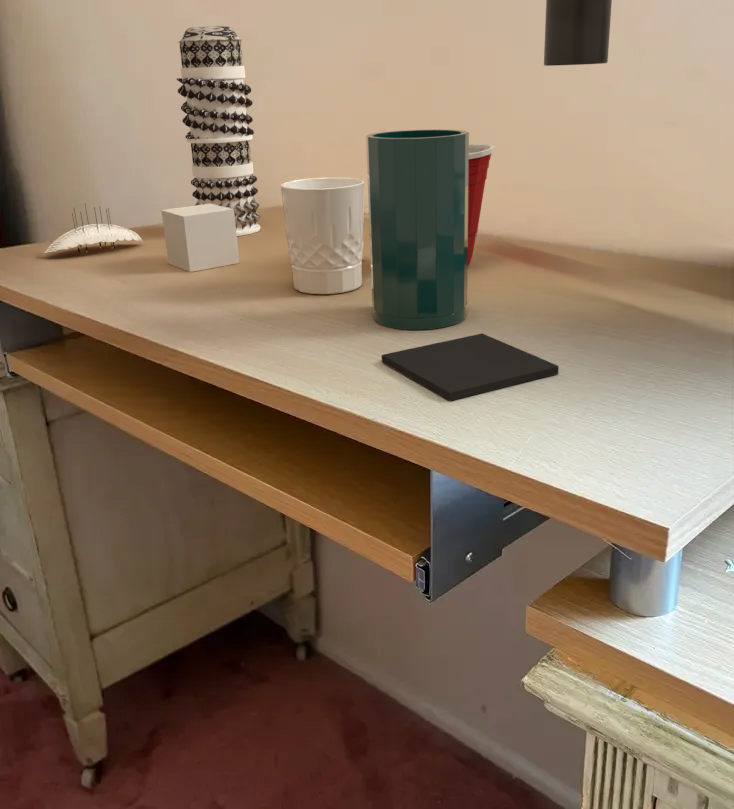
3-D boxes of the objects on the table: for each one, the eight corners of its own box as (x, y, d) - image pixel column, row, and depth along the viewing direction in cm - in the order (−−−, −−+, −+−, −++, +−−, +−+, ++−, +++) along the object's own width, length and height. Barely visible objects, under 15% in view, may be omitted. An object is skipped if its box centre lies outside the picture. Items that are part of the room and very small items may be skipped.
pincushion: (51, 262, 97) (42, 213, 95) (40, 254, 102) (31, 207, 100) (150, 248, 103) (144, 201, 101) (135, 240, 108) (129, 196, 105)
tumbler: (433, 298, 76) (432, 127, 71) (485, 319, 70) (488, 132, 64) (357, 313, 73) (349, 134, 67) (403, 335, 66) (399, 140, 61)
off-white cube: (190, 272, 90) (183, 216, 88) (168, 263, 95) (161, 210, 92) (239, 263, 93) (234, 208, 91) (216, 254, 98) (210, 203, 95)
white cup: (276, 283, 84) (268, 182, 80) (346, 272, 87) (342, 175, 83) (307, 301, 77) (300, 191, 73) (382, 288, 80) (378, 183, 77)
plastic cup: (391, 255, 94) (388, 144, 90) (487, 252, 94) (489, 141, 89) (390, 278, 84) (387, 155, 80) (497, 275, 84) (500, 151, 79)
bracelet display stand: (179, 234, 111) (154, 29, 101) (228, 222, 118) (209, 29, 108) (228, 240, 106) (207, 24, 96) (276, 227, 113) (261, 25, 103)
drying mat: (482, 340, 65) (482, 333, 64) (558, 374, 57) (559, 365, 57) (381, 362, 61) (381, 354, 61) (449, 401, 53) (449, 392, 53)
